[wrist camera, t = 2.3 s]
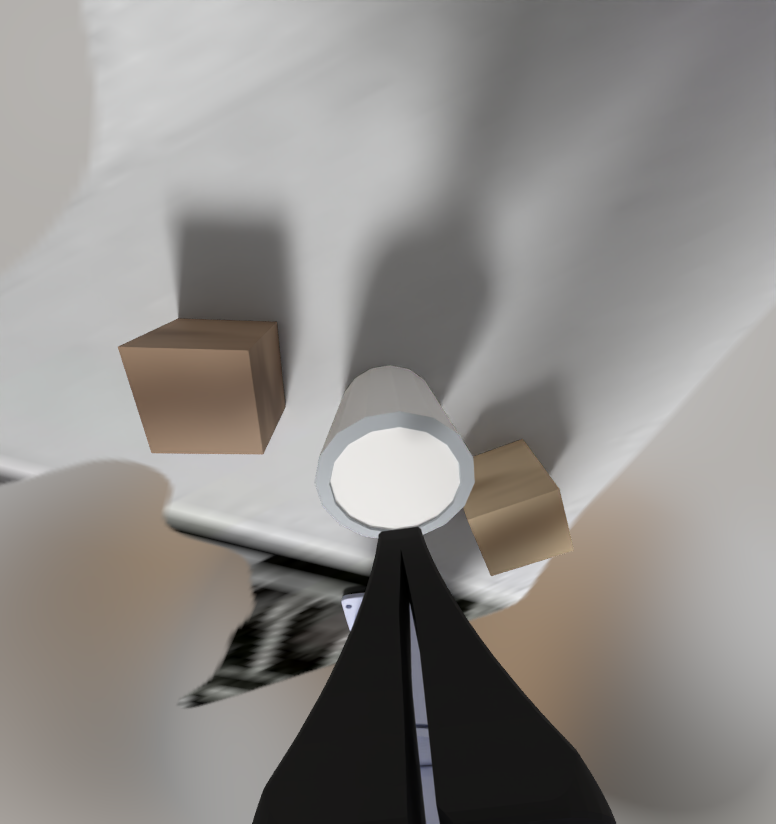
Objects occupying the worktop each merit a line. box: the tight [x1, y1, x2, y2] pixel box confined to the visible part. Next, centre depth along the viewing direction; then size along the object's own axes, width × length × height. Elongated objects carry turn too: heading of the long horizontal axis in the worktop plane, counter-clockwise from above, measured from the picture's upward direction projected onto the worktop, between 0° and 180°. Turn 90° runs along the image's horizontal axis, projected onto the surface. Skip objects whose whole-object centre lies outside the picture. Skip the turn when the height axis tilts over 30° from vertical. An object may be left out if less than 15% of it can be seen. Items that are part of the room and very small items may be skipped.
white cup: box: [315, 365, 475, 538], centre depth 18 cm, size 7×7×7 cm
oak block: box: [463, 439, 574, 576], centre depth 22 cm, size 5×5×5 cm
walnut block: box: [118, 318, 286, 454], centre depth 17 cm, size 5×5×5 cm
